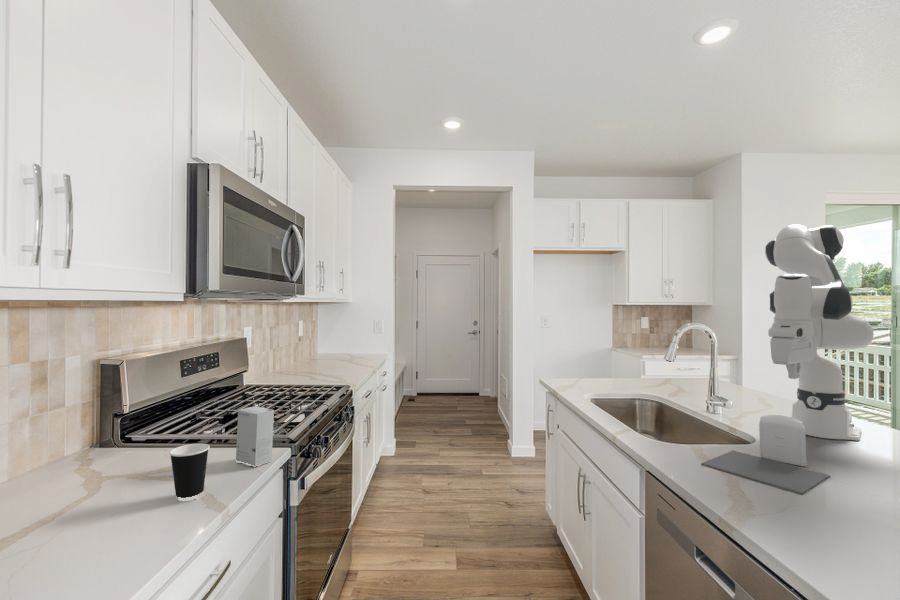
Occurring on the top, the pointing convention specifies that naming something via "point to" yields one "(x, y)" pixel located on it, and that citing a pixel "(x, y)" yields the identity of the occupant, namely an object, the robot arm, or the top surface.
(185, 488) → the dixie cup
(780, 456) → the photo printer
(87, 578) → the top surface
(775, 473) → the mat
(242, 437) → the skincare box
